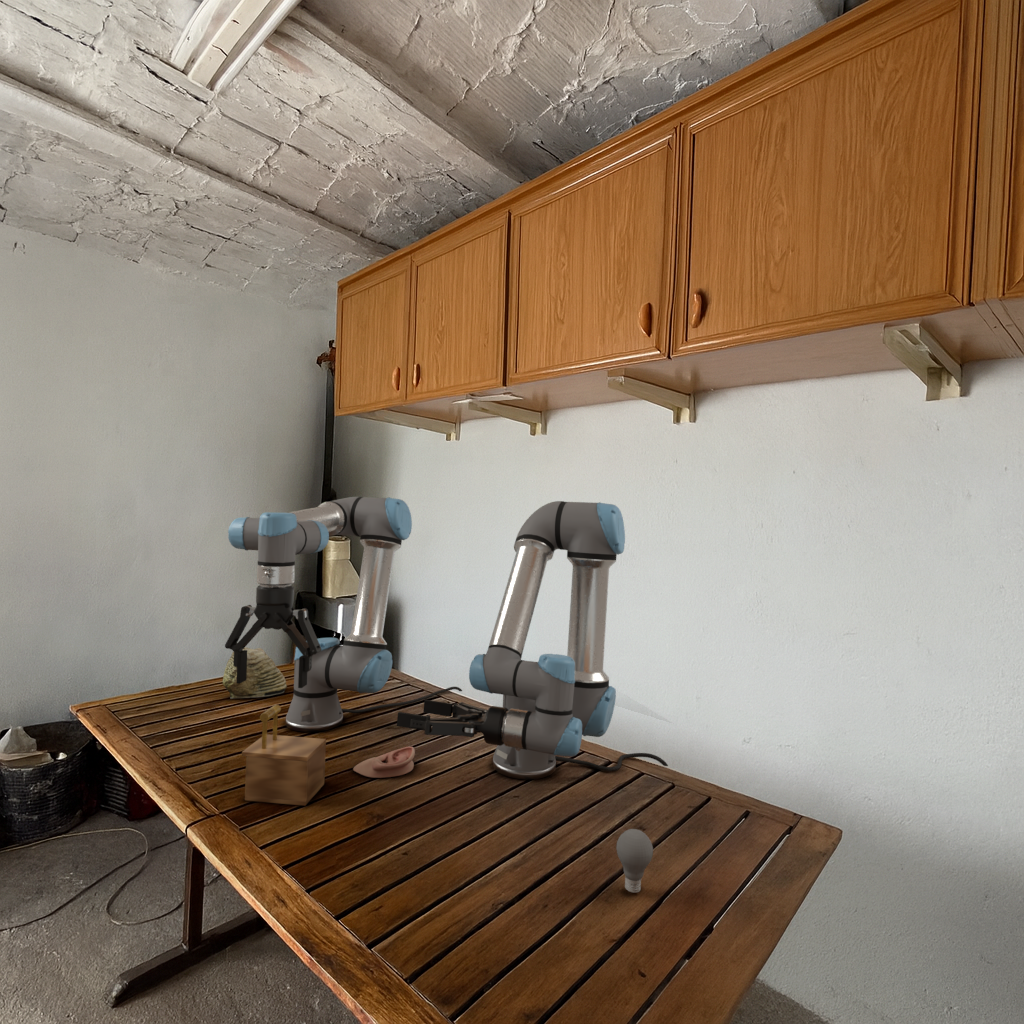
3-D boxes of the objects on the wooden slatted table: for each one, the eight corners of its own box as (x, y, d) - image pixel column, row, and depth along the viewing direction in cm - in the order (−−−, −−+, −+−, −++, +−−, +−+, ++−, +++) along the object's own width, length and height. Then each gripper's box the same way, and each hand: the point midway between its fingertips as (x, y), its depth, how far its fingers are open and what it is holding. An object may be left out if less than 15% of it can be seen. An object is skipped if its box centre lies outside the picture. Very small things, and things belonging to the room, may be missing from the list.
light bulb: (610, 879, 108) (613, 822, 108) (644, 879, 109) (647, 822, 109) (619, 902, 102) (622, 840, 102) (655, 901, 103) (658, 840, 103)
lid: (241, 756, 131) (243, 715, 131) (265, 737, 141) (266, 700, 141) (306, 761, 129) (308, 720, 129) (325, 742, 139) (327, 704, 139)
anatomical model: (347, 757, 144) (369, 739, 156) (347, 774, 144) (368, 755, 156) (402, 764, 142) (420, 745, 153) (402, 782, 142) (419, 762, 153)
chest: (244, 800, 131) (246, 756, 131) (267, 779, 141) (269, 738, 141) (305, 805, 130) (306, 761, 129) (324, 784, 140) (325, 742, 139)
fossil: (218, 695, 195) (220, 647, 195) (278, 685, 208) (279, 640, 207) (228, 703, 189) (230, 653, 188) (289, 692, 201) (290, 645, 201)
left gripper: (209, 583, 132) (206, 684, 133) (325, 590, 130) (321, 693, 130) (229, 579, 140) (225, 675, 140) (338, 585, 137) (335, 683, 138)
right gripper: (486, 762, 118) (383, 744, 124) (520, 731, 142) (432, 717, 148) (489, 721, 119) (387, 705, 125) (522, 697, 143) (435, 685, 149)
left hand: (271, 684), depth 135 cm, fingers open, 13 cm apart
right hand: (411, 712), depth 136 cm, fingers open, 13 cm apart
